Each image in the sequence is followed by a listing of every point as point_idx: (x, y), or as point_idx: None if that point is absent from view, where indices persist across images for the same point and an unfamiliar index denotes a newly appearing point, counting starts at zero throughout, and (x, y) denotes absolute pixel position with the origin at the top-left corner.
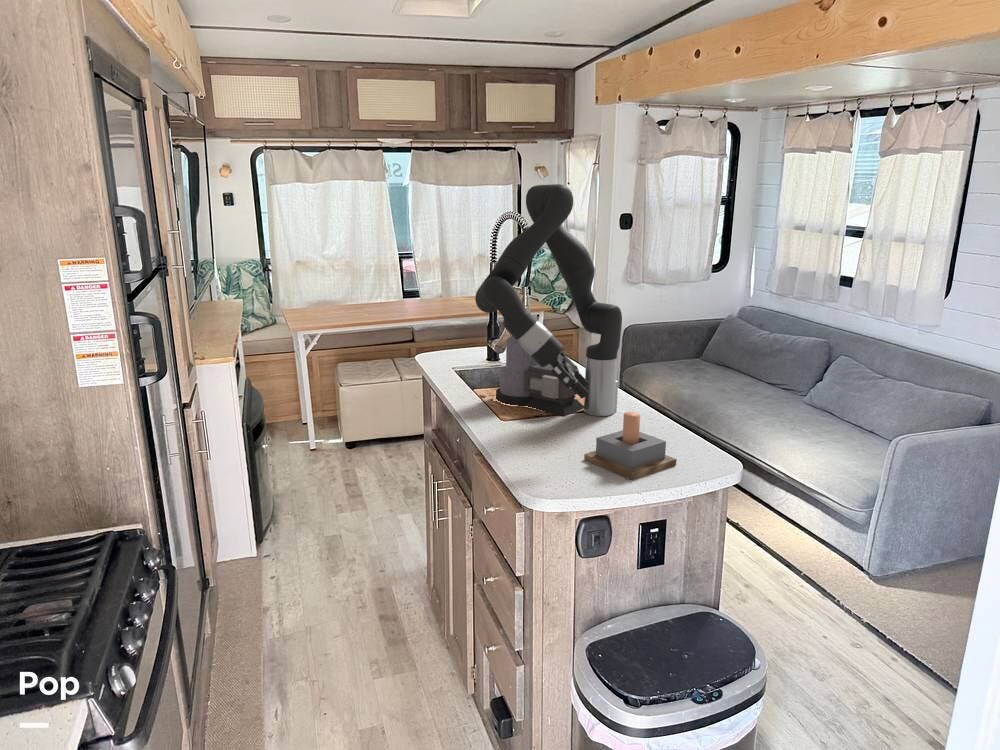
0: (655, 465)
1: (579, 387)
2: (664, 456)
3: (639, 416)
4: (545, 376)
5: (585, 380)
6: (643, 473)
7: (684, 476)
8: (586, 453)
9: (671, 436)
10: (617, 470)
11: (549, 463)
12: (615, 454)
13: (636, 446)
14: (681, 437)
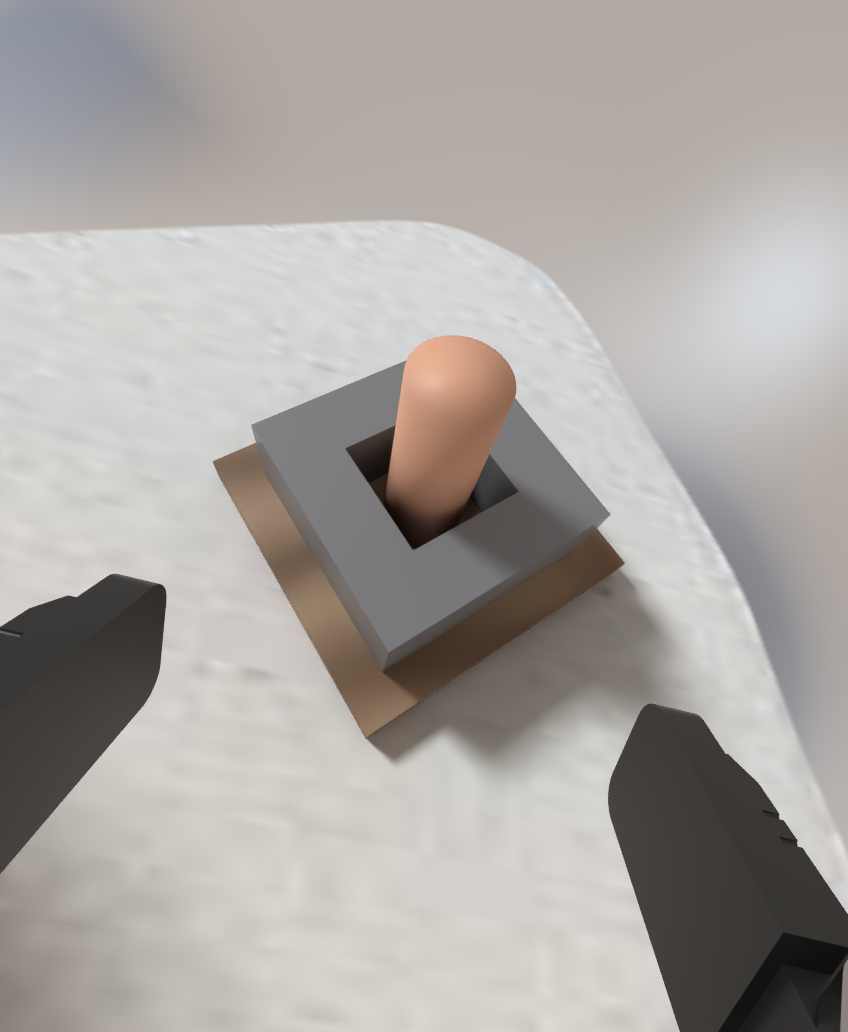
0: None
1: (829, 895)
2: None
3: (493, 351)
4: None
5: (116, 621)
6: None
7: (561, 385)
8: (361, 722)
9: (140, 283)
10: (556, 609)
11: (405, 986)
12: (505, 587)
13: (536, 475)
14: (163, 258)
